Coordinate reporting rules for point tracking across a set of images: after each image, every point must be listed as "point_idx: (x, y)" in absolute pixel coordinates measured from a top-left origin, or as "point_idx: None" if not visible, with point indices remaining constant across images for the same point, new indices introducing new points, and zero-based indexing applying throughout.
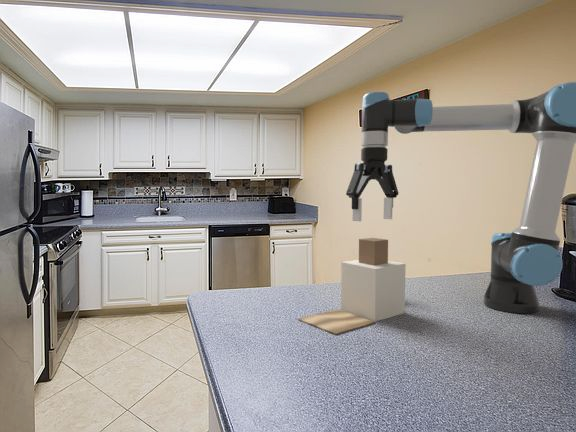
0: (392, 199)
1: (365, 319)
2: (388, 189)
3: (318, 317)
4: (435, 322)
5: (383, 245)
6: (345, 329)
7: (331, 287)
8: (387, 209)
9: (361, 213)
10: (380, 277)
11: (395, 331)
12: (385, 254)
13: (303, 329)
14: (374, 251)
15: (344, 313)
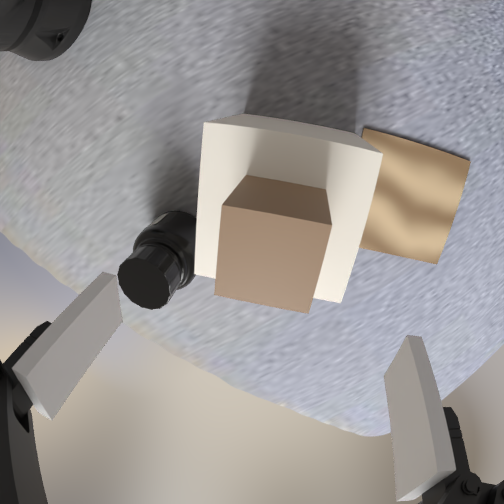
0: (21, 359)
1: None
2: (10, 451)
3: (412, 239)
4: (257, 31)
5: (264, 202)
6: (443, 156)
7: (192, 336)
8: (86, 337)
9: (417, 372)
10: (351, 142)
11: (380, 70)
12: (254, 186)
13: (472, 224)
14: (328, 207)
15: None
